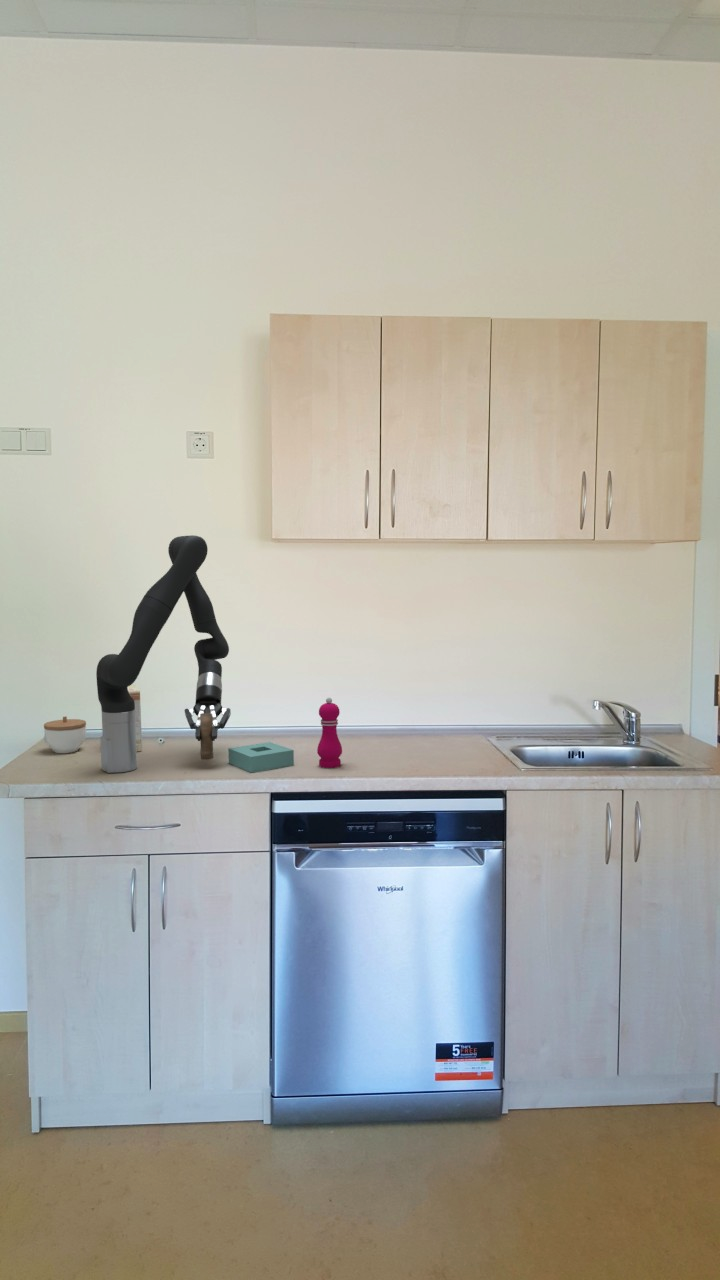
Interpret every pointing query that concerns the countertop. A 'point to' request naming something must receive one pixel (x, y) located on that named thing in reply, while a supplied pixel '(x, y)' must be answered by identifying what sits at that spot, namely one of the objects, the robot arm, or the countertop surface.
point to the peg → (206, 735)
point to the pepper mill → (329, 736)
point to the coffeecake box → (137, 715)
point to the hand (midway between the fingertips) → (206, 739)
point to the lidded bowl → (65, 734)
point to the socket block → (261, 756)
